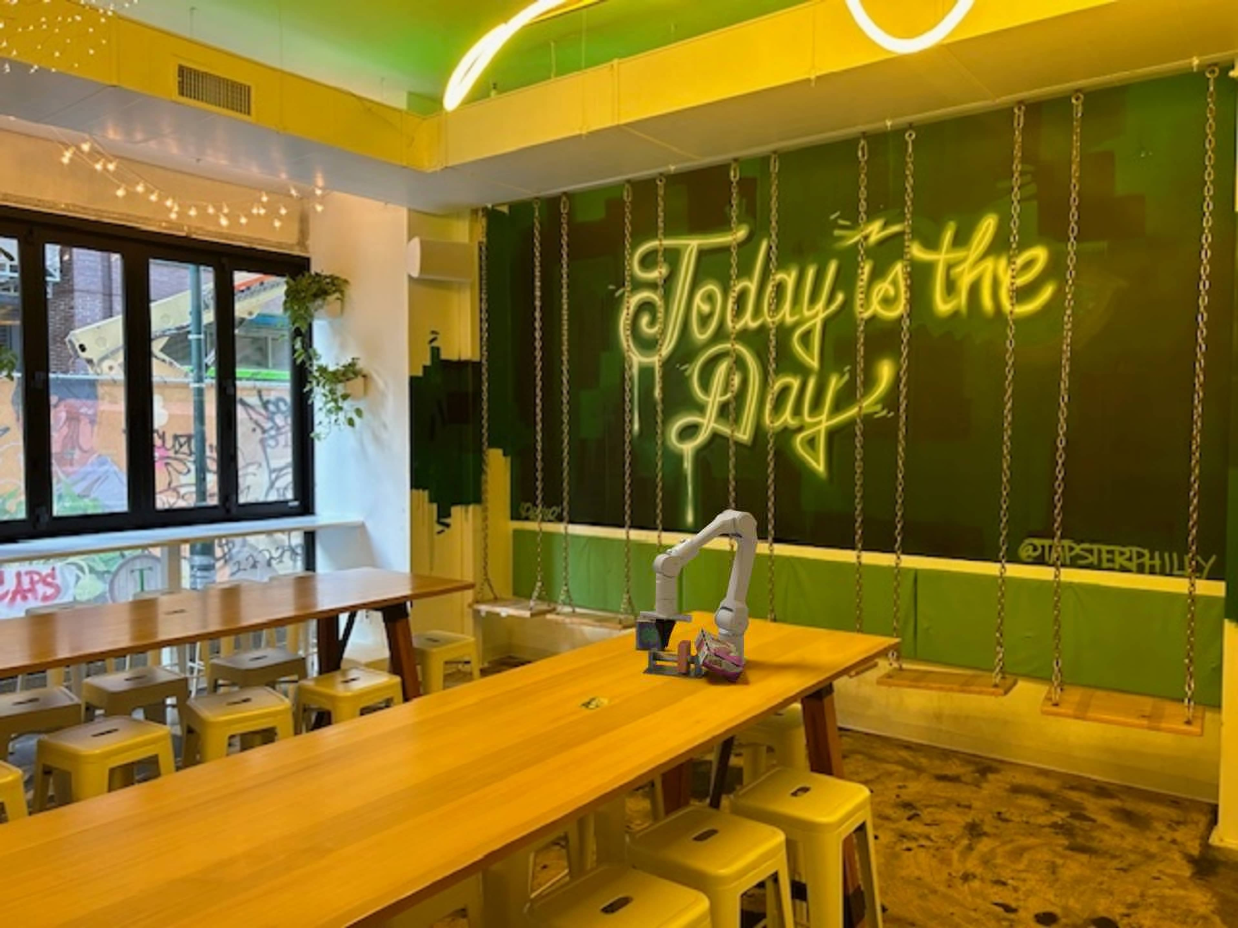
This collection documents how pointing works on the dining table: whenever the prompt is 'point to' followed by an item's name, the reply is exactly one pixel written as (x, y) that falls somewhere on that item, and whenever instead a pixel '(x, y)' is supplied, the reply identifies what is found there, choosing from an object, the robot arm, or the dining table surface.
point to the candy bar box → (718, 655)
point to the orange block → (683, 656)
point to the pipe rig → (672, 670)
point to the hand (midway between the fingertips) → (665, 646)
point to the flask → (647, 636)
